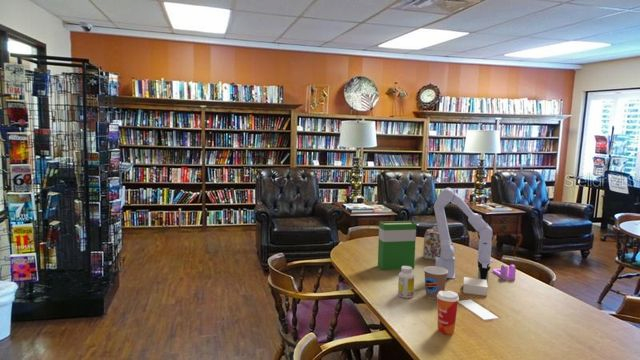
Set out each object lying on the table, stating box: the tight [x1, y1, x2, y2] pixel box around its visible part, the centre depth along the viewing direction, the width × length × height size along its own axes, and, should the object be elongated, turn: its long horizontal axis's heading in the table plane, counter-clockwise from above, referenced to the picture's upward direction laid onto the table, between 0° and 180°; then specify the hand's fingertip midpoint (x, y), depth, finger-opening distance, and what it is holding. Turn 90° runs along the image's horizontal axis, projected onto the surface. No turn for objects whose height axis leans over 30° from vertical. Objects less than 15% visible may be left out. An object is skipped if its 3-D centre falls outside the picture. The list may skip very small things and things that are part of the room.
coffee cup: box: [423, 265, 448, 300], centre depth 182 cm, size 10×10×12 cm
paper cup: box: [437, 290, 460, 336], centre depth 150 cm, size 8×8×14 cm
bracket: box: [492, 264, 516, 280], centre depth 212 cm, size 13×6×7 cm, turn 7°
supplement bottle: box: [397, 266, 415, 299], centre depth 182 cm, size 7×7×13 cm
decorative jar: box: [422, 225, 441, 261], centre depth 239 cm, size 12×12×18 cm
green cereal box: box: [377, 220, 417, 271], centre depth 221 cm, size 18×7×24 cm, turn 102°
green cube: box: [477, 268, 490, 284], centre depth 203 cm, size 4×4×5 cm
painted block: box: [462, 276, 489, 297], centre depth 191 cm, size 10×10×4 cm
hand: (482, 277), depth 203 cm, fingers closed on green cube, 4 cm apart
